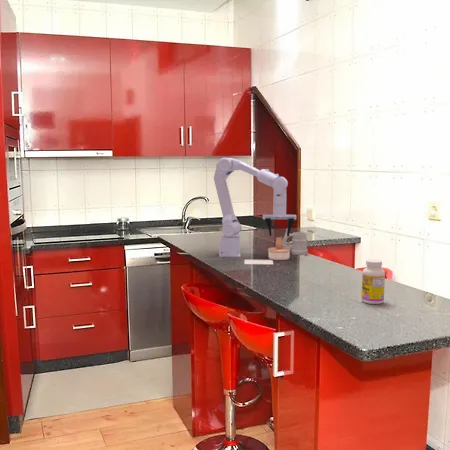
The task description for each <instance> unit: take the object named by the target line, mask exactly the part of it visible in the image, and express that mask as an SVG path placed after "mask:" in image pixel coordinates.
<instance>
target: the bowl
mask: <svg viewBox="0 0 450 450" xmlns="http://www.w3.org/2000/svg"><path fill="white" fill-rule="evenodd" d="M290 253H291V251H290V252H288V253H272V252H268V260H274V261H285V260H286V261H287V260H289V259H290Z"/></svg>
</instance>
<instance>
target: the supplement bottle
mask: <svg viewBox="0 0 450 450" xmlns="http://www.w3.org/2000/svg"><path fill="white" fill-rule="evenodd" d="M365 265H366V267H365V268H363V270H362V279H361V301H362V302H363V303H365V304H370V305H380V304H383V303H384V301H385V283H386V282H385V281H386V280H385V279H386V277H385V276H386V271H385V270H384V269H383V268H382V266H383V261H382V260H379V259H366V261H365Z"/></svg>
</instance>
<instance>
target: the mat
mask: <svg viewBox="0 0 450 450" xmlns="http://www.w3.org/2000/svg"><path fill="white" fill-rule="evenodd" d="M244 265H274V261H273V259H244Z"/></svg>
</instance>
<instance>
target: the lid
mask: <svg viewBox="0 0 450 450" xmlns="http://www.w3.org/2000/svg"><path fill="white" fill-rule="evenodd" d="M283 239H284V237H282V236H277V237H275V246H274V247H273V246H272V247H268V248H267V251H268V253H269V252H272V253H288V252H290V253H291V249H289V248H284V247H283V243H282V241H283Z"/></svg>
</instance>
